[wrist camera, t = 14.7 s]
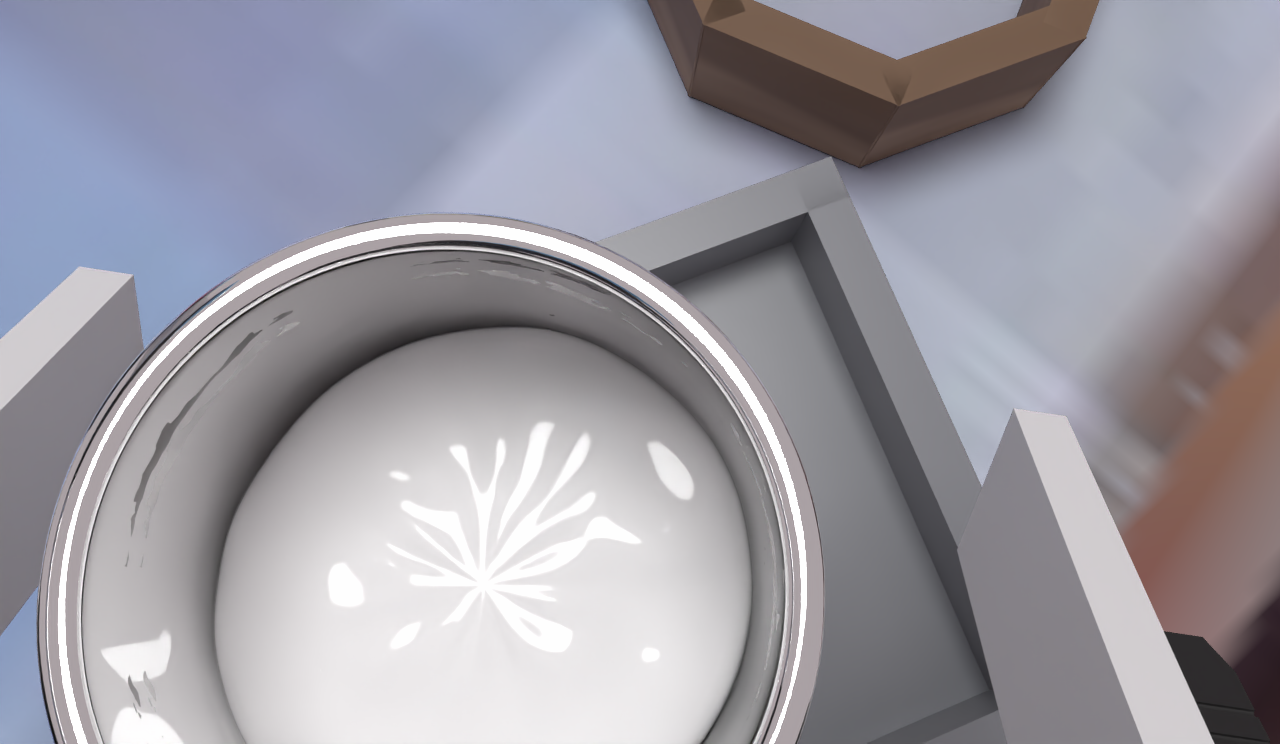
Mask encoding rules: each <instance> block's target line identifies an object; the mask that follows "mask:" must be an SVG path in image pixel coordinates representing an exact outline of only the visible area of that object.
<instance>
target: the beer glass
mask: <svg viewBox="0 0 1280 744" xmlns="http://www.w3.org/2000/svg"><path fill="white" fill-rule="evenodd" d="M824 624H825V572H824V560H823V550H822V542H821V536H820V529H819V524H818V519H817V514H816V509H815V505H814V501H813V497H812V493H811V489H810V486H809V483H808V479H807V476H806V473H805V470H804V467H803V464H802V462H801V459H800V456H799V454H798V451H797V449H796V446H795V444H794V441H793V439H792V437H791V435H790V433H789V430H788V428H787V426H786V424H785V422H784V420H783V418H782V416H781V414H780V412H779V410H778V409H777V407H776V405H775V403H774V402H773V400H772V398H771V396H770V395H769V393H768V391H767V390H766V388H765V387H764V385H763V383H762V382H761V380H760V379H759V377H758V376H757V374H756V373H755V372H754V370H753V369H752V367H751V366H750V365H749V363H748V362H747V361H746V359H745V358H744V357H743V356H742V354H741V353H740V352H739V351H738V349H737V348H736V347H735V346H734V344H733V343H732V342H731V341H730V340H729V339H728V338H727V337H726V336H725V334H724V333H723V332H722V331H721V330H720V329H719V328H718V327H717V326H716V325H715V324H714V323H713V322H712V321H711V320H710V319H709V318H708V317H707V316H706V315H705V314H704V313H703V312H702V311H701V310H699V309H698V308H697V307H696V306H695V305H694V304H693V303H691V302H690V301H689V300H688V299H687V298H686V297H684V296H683V295H682V294H681V293H679V292H678V291H677V290H675V289H674V288H673V287H671V286H670V285H669V284H667V283H666V282H664V281H663V280H661V279H660V278H659V277H657V276H656V275H654V274H653V273H651V272H649V271H648V270H646V269H645V268H643V267H642V266H640V265H638V264H636V263H635V262H633V261H631V260H629V259H627V258H626V257H624V256H622V255H620V254H618V253H616V252H614V251H612V250H610V249H608V248H606V247H603V246H601V245H599V244H597V243H594V242H592V241H590V240H587V239H584V238H582V237H579V236H577V235H574V234H571V233H568V232H565V231H562V230H559V229H555V228H552V227H548V226H545V225H541V224H537V223H533V222H528V221H524V220H519V219H514V218H508V217H501V216H494V215H485V214H475V213H438V212H434V213H416V214H406V215H397V216H390V217H383V218H377V219H372V220H367V221H362V222H358V223H353V224H349V225H345V226H342V227H338V228H335V229H331V230H328V231H325V232H322V233H319V234H316V235H313V236H310V237H308V238H305V239H302V240H300V241H297V242H295V243H292V244H290V245H288V246H285V247H283V248H281V249H279V250H276V251H274V252H272V253H270V254H268V255H266V256H264V257H262V258H260V259H258V260H257V261H255V262H253V263H251V264H249V265H248V266H246V267H244V268H242V269H241V270H239V271H237V272H236V273H234V274H232V275H231V276H229V277H228V278H226V279H225V280H223V281H222V282H220V283H219V284H217V285H216V286H214V287H213V288H211V289H210V290H209V291H207V292H206V293H205V294H203V295H202V296H201V297H200V298H198V299H197V300H196V301H194V302H193V303H192V304H191V305H190V306H188V307H187V308H186V309H185V310H183V311H182V312H181V313H180V314H179V315H178V316H177V317H175V318H174V319H173V320H172V321H171V322H170V323H169V324H168V325H167V326H166V327H165V328H164V329H163V330H162V331H161V332H160V333H159V334H158V335H157V336H156V337H155V338H154V339H153V340H152V341H151V342H150V343H149V344H148V345H147V346H146V347H145V349H144V350H143V351H142V352H141V353H140V354H139V355H138V357H137V358H136V359H135V360H134V361H133V362H132V364H131V365H130V366H129V367H128V368H127V370H126V371H125V372H124V374H123V375H122V376H121V378H120V379H119V380H118V382H117V383H116V384H115V386H114V387H113V389H112V390H111V392H110V393H109V394H108V396H107V397H106V399H105V400H104V402H103V404H102V405H101V407H100V408H99V410H98V412H97V413H96V415H95V416H94V418H93V420H92V422H91V424H90V425H89V427H88V429H87V431H86V432H85V434H84V436H83V438H82V440H81V442H80V444H79V446H78V448H77V450H76V453H75V455H74V457H73V459H72V462H71V464H70V466H69V468H68V471H67V474H66V476H65V479H64V481H63V484H62V486H61V489H60V492H59V495H58V498H57V501H56V504H55V507H54V511H53V514H52V518H51V521H50V525H49V529H48V534H47V538H46V542H45V547H44V553H43V558H42V563H41V571H40V579H39V588H38V599H37V652H38V666H39V675H40V683H41V689H42V695H43V701H44V706H45V711H46V715H47V720H48V724H49V727H50V731H51V735H52V738H53V742H54V744H798V743H799V740H800V738H801V735H802V732H803V729H804V726H805V723H806V720H807V716H808V713H809V709H810V706H811V702H812V698H813V694H814V690H815V686H816V682H817V676H818V671H819V665H820V659H821V652H822V645H823V635H824Z"/></svg>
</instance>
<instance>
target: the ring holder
mask: <svg viewBox="0 0 1280 744" xmlns="http://www.w3.org/2000/svg"><path fill="white" fill-rule="evenodd" d="M648 3H649V5H650V7H651V10H652V12H653V14H654V17H655V19H656V21H657V23H658V26H659V28H660V30H661V33H662V35H663V37H664V40H665V42H666V44H667V46H668V49H669V51H670V53H671V56H672V58H673V60H674V63H675V65H676V67H677V69H678V72H679V74H680V76H681V79H682V81H683V83H684V86H685V88H686V90H687V92H688V96H689V97H690V96H691V97H693V98H695V99H698V100H700V101H703V102H705V103H707V104H710V105H712V106H715V107H717V108H719V109H722V110H724V111H726V112H729V113H731V114H734V115H736V116H738V117H741V118H743V119H745V120H748V121H750V122H753V123H755V124H757V125H760V126H762V127H765V128H767V129H769V130H772V131H774V132H776V133H779V134H781V135H784V136H786V137H788V138H791V139H793V140H796V141H798V142H800V143H803V144H805V145H807V146H810V147H812V148H815V149H817V150H819V151H822V152H824V153H827V154H829V155H831V156H834V157H836V158H838V159H841V160H843V161H846V162H848V163H850V164H853V165H855V166H858V168H859V167H860V168H861V167H862V166H864V165H867V164H870V163H873V162H875V161H878V160H881V159H883V158H886V157H889V156H892V155H894V154H897V153H900V152H902V151H905V150H908V149H911V148H913V147H916V146H919V145H921V144H924V143H927V142H930V141H932V140H935V139H938V138H941V137H943V136H946V135H949V134H951V133H954V132H957V131H960V130H962V129H965V128H968V127H970V126H973V125H976V124H979V123H981V122H984V121H987V120H989V119H992V118H995V117H998V116H1000V115H1003V114H1006V113H1008V112H1011V111H1014V110H1017V109H1019V108H1024V107H1025V106H1026V105H1027V104H1028V102H1029V101H1030V100H1031V99H1032V98H1033V97H1034V96H1035V95H1036V93H1037V92H1038V91H1039V90H1040V89H1041V88H1042V87H1043V86H1044V85H1045V83H1046V82H1047V81H1048V80H1049V79H1050V78H1051V77H1052V76H1053V75H1054V73H1055V72H1056V71H1057V70H1058V69H1059V68H1060V67H1061V66H1062V64H1063V63H1064V62H1065V61H1066V60H1067V59H1068V58H1069V57H1070V56H1071V54H1072V53H1073V52H1074V51H1075V50H1076V49H1077V48H1078V47H1079V46H1080V44H1081V43H1082V42H1083V41H1084V40H1085V39H1086V35H1087V32H1088V30H1089V27H1090V24H1091V22H1092V19H1093V16H1094V14H1095V11H1096V8H1097V5H1098V3H1099V0H1023V2H1022V4H1021V7H1020V9H1019V12H1018V14H1017V17H1016V18H1013V19H1011V20H1008V21H1005V22H1002V23H999V24H997V25H994V26H991V27H988V28H985V29H983V30H980V31H977V32H974V33H971V34H969V35H966V36H963V37H960V38H957V39H955V40H952V41H949V42H946V43H943V44H941V45H938V46H935V47H932V48H929V49H926V50H924V51H921V52H918V53H915V54H912V55H910V56H907V57H904V58H901V59H898V60H896V59H893V58H891V57H889V56H886V55H884V54H881V53H879V52H876V51H874V50H872V49H869V48H867V47H864V46H862V45H860V44H857V43H855V42H852V41H850V40H848V39H845V38H843V37H840V36H838V35H836V34H833V33H831V32H828V31H826V30H823V29H821V28H819V27H816V26H814V25H811V24H809V23H807V22H804V21H802V20H799V19H797V18H795V17H792V16H790V15H787V14H785V13H782V12H780V11H778V10H775V9H773V8H770V7H768V6H766V5H763V4H761V3H758V2H756V1H754V0H648Z"/></svg>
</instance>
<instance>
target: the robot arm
mask: <svg viewBox="0 0 1280 744" xmlns="http://www.w3.org/2000/svg"><path fill="white" fill-rule="evenodd" d="M143 350H144V348H143V340H142V333H141V326H140V319H139V311H138V304H137V297H136V290H135V283H134V275H131V274H125V273H118V272H112V271H105V270H98V269H92V268H85V267H78V268H77V269H76V270H75V271H74V272H73V273H72V274H71V275H70V276H69V277H68V278H66V279H65V280H64V281H63V282H62V283H61V284H60V285H59V286H58V287H57V288H56V289H54V290H53V291H52V292H51V293H50V294H49V295H48V296H47V297H46V298H45V299H44V300H43V301H41V302H40V303H39V304H38V305H37V306H36V307H35V308H34V309H33V310H32V311H31V312H30V313H28V314H27V315H26V316H25V317H24V318H23V319H22V320H21V321H20V322H19V323H18V324H17V325H15V326H14V327H13V328H12V329H11V330H10V331H9V332H8V333H7V334H6V335H5V336H3V337H2V338H1V339H0V636H1V634H2V633H3V632H4V630H5V629H6V628H7V626H8V625H9V624H10V622H11V621H12V620H13V618H14V617H15V616H16V614H17V613H18V612H19V610H20V609H21V608H22V606H23V605H24V604H25V602H26V601H27V600H28V598H29V597H30V596H31V594H32V593H33V592H34V591H35V589H36V588H37V587H38V585H39V579H40V571H41V563H42V558H43V553H44V547H45V542H46V538H47V534H48V529H49V525H50V521H51V518H52V514H53V511H54V507H55V504H56V501H57V498H58V495H59V492H60V489H61V486H62V484H63V481H64V479H65V476H66V474H67V471H68V468H69V466H70V464H71V462H72V459H73V457H74V455H75V453H76V450H77V448H78V446H79V444H80V442H81V440H82V438H83V436H84V434H85V432H86V431H87V429H88V427H89V425H90V424H91V422H92V420H93V418H94V416H95V415H96V413H97V412H98V410H99V408H100V407H101V405H102V404H103V402H104V400H105V399H106V397H107V396H108V394H109V393H110V392H111V390H112V389H113V387H114V386H115V384H116V383H117V382H118V380H119V379H120V378H121V376H122V375H123V374H124V372H125V371H126V370H127V368H128V367H129V366H130V365H131V364H132V362H133V361H134V360H135V359H136V358H137V357H138V355H139V354H140V353H141V352H142V351H143ZM957 552H958V556H959V560H960V564H961V567H962V571H963V575H964V579H965V583H966V587H967V590H968V594H969V598H970V602H971V606H972V610H973V614H974V617H975V621H976V625H977V629H978V633H979V637H980V640H981V644H982V648H983V652H984V656H985V660H986V664H987V667H988V671H989V675H990V679H991V683H992V687H993V690H994V694H995V698H996V702H997V706H998V710H999V714H1000V717H1001V721H1002V725H1003V729H1004V733H1005V737H1006V740H1007V744H1269V743H1270V739H1269V737H1268V735H1267V733H1266V731H1265V729H1264V728H1263V726H1262V724H1261V722H1260V720H1259V718H1258V717H1254V711H1255V710H1254V708H1253V706H1252V704H1251V702H1250V700H1249V698H1248V696H1247V694H1246V692H1245V690H1244V688H1243V686H1242V684H1241V682H1240V680H1239V678H1238V676H1237V674H1236V672H1235V671H1234V670H1233V669H1232V668H1231V667H1230V666H1229V665H1228V664H1227V663H1226V662H1225V661H1224V660H1223V658H1222V657H1221V656H1220V655H1219V654H1218V653H1217V652H1216V651H1215V650H1214V649H1213V648H1212V647H1211V646H1210V645H1209V644H1208V643H1207V641H1206V640H1205V639H1204V638H1203V637H1198V636H1192V635H1185V634H1178V633H1172V632H1165V631H1163V629H1162V627H1161V625H1160V623H1159V620H1158V618H1157V616H1156V614H1155V611H1154V609H1153V607H1152V605H1151V603H1150V600H1149V598H1148V596H1147V594H1146V591H1145V589H1144V587H1143V585H1142V583H1141V580H1140V578H1139V576H1138V574H1137V572H1136V569H1135V567H1134V565H1133V563H1132V561H1131V558H1130V556H1129V554H1128V552H1127V549H1126V547H1125V545H1124V543H1123V541H1122V538H1121V536H1120V534H1119V532H1118V530H1117V527H1116V525H1115V523H1114V521H1113V519H1112V516H1111V514H1110V512H1109V510H1108V507H1107V505H1106V503H1105V501H1104V499H1103V496H1102V494H1101V492H1100V490H1099V488H1098V485H1097V483H1096V481H1095V479H1094V477H1093V474H1092V472H1091V470H1090V468H1089V466H1088V463H1087V461H1086V459H1085V457H1084V454H1083V452H1082V450H1081V448H1080V446H1079V443H1078V441H1077V439H1076V437H1075V435H1074V432H1073V430H1072V428H1071V426H1070V424H1069V421H1068V419H1067V417H1066V416H1061V415H1054V414H1048V413H1041V412H1035V411H1028V410H1021V409H1015V408H1014V409H1013V411H1012V414H1011V416H1010V419H1009V421H1008V424H1007V426H1006V429H1005V431H1004V434H1003V436H1002V439H1001V441H1000V444H999V446H998V449H997V451H996V454H995V456H994V459H993V461H992V464H991V466H990V469H989V471H988V474H987V476H986V479H985V481H984V484H983V486H982V489H981V491H980V494H979V496H978V499H977V501H976V504H975V506H974V509H973V511H972V514H971V516H970V519H969V521H968V524H967V526H966V529H965V531H964V534H963V536H962V539H961V541H960V544H959V546H958V549H957Z"/></svg>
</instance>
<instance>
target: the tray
mask: <svg viewBox="0 0 1280 744" xmlns="http://www.w3.org/2000/svg"><path fill="white" fill-rule="evenodd" d="M595 243H597V244H599V245H601V246H603V247H606V248H608V249H610V250H612V251H614V252H616V253H618V254H620V255H622V256H624V257H626V258H627V259H629V260H631V261H633V262H635V263H636V264H638V265H640V266H642V267H643V268H645V269H646V270H648V271H649V272H651V273H653V274H654V275H656V276H657V277H659V278H660V279H661V280H663V281H664V282H666V283H667V284H669V285H670V286H671V287H673V288H674V289H675V290H677V291H678V292H679V293H681V294H682V295H683V296H684V297H686V298H687V299H688V300H689V301H690V302H691V303H693V304H694V305H695V306H696V307H697V308H698V309H699V310H701V311H702V312H703V313H704V314H705V315H706V316H707V317H708V318H709V319H710V320H711V321H712V322H713V323H714V324H715V325H716V326H717V327H718V328H719V329H720V330H721V331H722V332H723V333H724V334H725V336H726V337H727V338H728V339H729V340H730V341H731V342H732V343H733V344H734V346H735V347H736V348H737V349H738V351H739V352H740V353H741V354H742V356H743V357H744V358H745V359H746V361H747V362H748V363H749V365H750V366H751V367H752V369H753V370H754V372H755V373H756V374H757V376H758V377H759V379H760V380H761V382H762V383H763V385H764V387H765V388H766V390H767V391H768V393H769V395H770V396H771V398H772V400H773V402H774V403H775V405H776V407H777V409H778V410H779V412H780V414H781V416H782V418H783V420H784V422H785V424H786V426H787V428H788V430H789V433H790V435H791V437H792V439H793V441H794V444H795V446H796V449H797V451H798V454H799V456H800V459H801V462H802V464H803V467H804V470H805V473H806V476H807V479H808V483H809V486H810V489H811V493H812V497H813V501H814V505H815V509H816V514H817V519H818V524H819V529H820V536H821V542H822V550H823V560H824V572H825V624H824V635H823V645H822V652H821V659H820V665H819V671H818V676H817V682H816V686H815V690H814V694H813V698H812V702H811V706H810V709H809V713H808V716H807V720H806V723H805V726H804V729H803V732H802V735H801V738H800V740H799V743H798V744H1007V740H1006V737H1005V733H1004V729H1003V725H1002V721H1001V717H1000V714H999V710H998V706H997V702H996V698H995V694H994V690H993V687H992V683H991V679H990V675H989V671H988V667H987V664H986V660H985V656H984V652H983V648H982V644H981V640H980V637H979V633H978V629H977V625H976V621H975V617H974V614H973V610H972V606H971V602H970V598H969V594H968V590H967V587H966V583H965V579H964V575H963V571H962V567H961V564H960V560H959V556H958V552H957V549H958V546H959V544H960V541H961V539H962V536H963V534H964V531H965V529H966V526H967V524H968V521H969V519H970V516H971V514H972V511H973V509H974V506H975V504H976V501H977V499H978V496H979V494H980V491H981V489H982V486H981V484H980V482H979V480H978V478H977V475H976V473H975V471H974V469H973V467H972V464H971V462H970V460H969V458H968V456H967V453H966V451H965V449H964V447H963V445H962V442H961V440H960V438H959V436H958V434H957V431H956V429H955V427H954V425H953V423H952V420H951V418H950V416H949V414H948V412H947V410H946V407H945V405H944V403H943V401H942V399H941V396H940V394H939V392H938V390H937V388H936V385H935V383H934V381H933V379H932V377H931V374H930V372H929V370H928V368H927V366H926V363H925V361H924V359H923V357H922V355H921V352H920V350H919V348H918V346H917V344H916V341H915V339H914V337H913V335H912V333H911V330H910V328H909V326H908V324H907V322H906V319H905V317H904V315H903V313H902V311H901V308H900V306H899V304H898V302H897V300H896V297H895V295H894V293H893V291H892V289H891V286H890V284H889V282H888V280H887V278H886V275H885V273H884V271H883V269H882V267H881V264H880V262H879V260H878V258H877V256H876V253H875V251H874V249H873V247H872V245H871V242H870V240H869V238H868V236H867V234H866V231H865V229H864V227H863V225H862V223H861V220H860V218H859V216H858V214H857V212H856V210H855V207H854V205H853V203H852V201H851V199H850V196H849V194H848V192H847V190H846V188H845V185H844V183H843V181H842V179H841V177H840V174H839V172H838V170H837V168H836V166H835V163H834V161H833V159H832V157H828V158H825V159H822V160H820V161H817V162H814V163H811V164H809V165H806V166H803V167H800V168H798V169H795V170H792V171H790V172H787V173H784V174H781V175H779V176H776V177H773V178H770V179H768V180H765V181H762V182H759V183H757V184H754V185H751V186H748V187H746V188H743V189H740V190H738V191H735V192H732V193H729V194H727V195H724V196H721V197H718V198H716V199H713V200H710V201H707V202H705V203H702V204H699V205H696V206H694V207H691V208H688V209H685V210H683V211H680V212H677V213H675V214H672V215H669V216H666V217H664V218H661V219H658V220H655V221H653V222H650V223H647V224H644V225H642V226H639V227H636V228H633V229H631V230H628V231H625V232H623V233H620V234H617V235H614V236H612V237H609V238H606V239H603V240H601V241H598V242H595Z"/></svg>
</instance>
